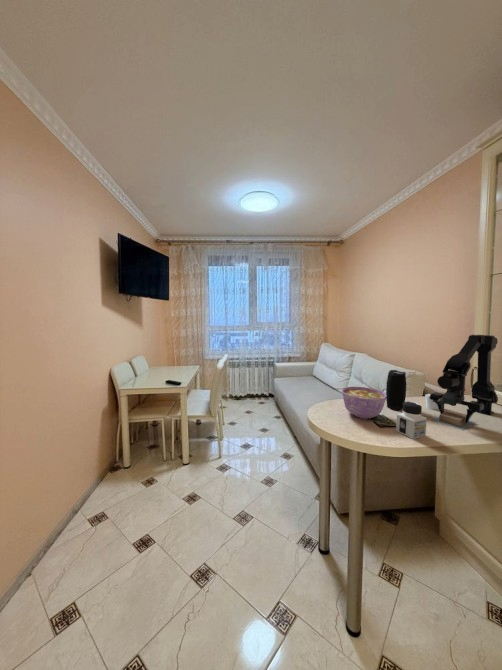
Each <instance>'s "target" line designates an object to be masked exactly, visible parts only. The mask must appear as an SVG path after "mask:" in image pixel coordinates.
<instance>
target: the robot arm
mask: <svg viewBox="0 0 502 670" xmlns="http://www.w3.org/2000/svg"><path fill="white" fill-rule="evenodd" d="M467 339H468V340H467V341H466V342H465V343H464V345H463V346H462V348H461V349H460V350H459V352H457V354H454V355H452V356H451V357H450V358H448V360H447V361H446V363H445V365H444V367H443V370H442V375H441V376H439V377H438V379H437V385H438V386H439V387H440V388H441V389H444V390H446V392H445V393H441V392H437V391H434V392H433V393H429V394H430V399H431V400H433V402H435V403H436V404H437V405H438V408H439V410H438V411H439V413H440V414H442V413H444V412H445V405H449V406H452V407H455V406H457V405H462V406H466V407H467V408H466V423H468V421H469V420H470V419H471V418H472V416H473V415H474V413H481V414H485V415H487V416H489V415H492V414H494V413H495V411H492V409H493V408H492V407H493V404H497V403H498V401H499V397H498V394H497V392H496V391H495V390H496V389H495V385H494V384H493V383H492V381H491V370H492V369H491V365H492V363H491V361H492V353H493V351H494V350H495V349H496V348H497V344H498V342H499V341H498V338H497V337H495V335H489V334H469V336H468V338H467ZM475 353H477V370H476V371H477V372H476V373H477V377H476V381H475V382H474V383H473V384H472V386H471V387H472V388H471V399H473V400H470V401H466V400H465V399H466V398H465V391H466V388H465V385H466V377H467V376H468V373H469V371H470V369H471V367H472V365H471V364H472V363H471V359H472V358H473V356H474V355H475ZM474 399H475V400H474Z"/></svg>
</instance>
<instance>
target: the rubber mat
mask: <svg viewBox="0 0 502 670" xmlns="http://www.w3.org/2000/svg"><path fill="white" fill-rule="evenodd" d="M439 417H440V415H439V416H437V417H435V418H433V419H431V421H433V422H435V423H438V424H442V425H445V426H449V427H452V428H455V429H458V430H461V431H465V430H467V429H469V428H470V427H471V426H474V424H477V422H476V421H472V420H470V419H469V421H468V423H465V424H464V425H462V426H460V427H457V426H453V425H450V424H447V423H444V422H441V421H439Z"/></svg>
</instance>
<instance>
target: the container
mask: <svg viewBox="0 0 502 670" xmlns="http://www.w3.org/2000/svg"><path fill="white" fill-rule="evenodd" d="M422 410H423V409H422V405H421V404H419V403H417V402H414V401H405V402H404V403H403V408H402V412H399V413H397V414H396V424H395V432H397V433H399V434H401V435H403V434H404V436H405V435H406V437H407V438H411V439H412V440H415V439H419V438H422V437H425V436H426V435H427V419H428V418H427V417H425V416H423V415H422Z"/></svg>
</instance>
